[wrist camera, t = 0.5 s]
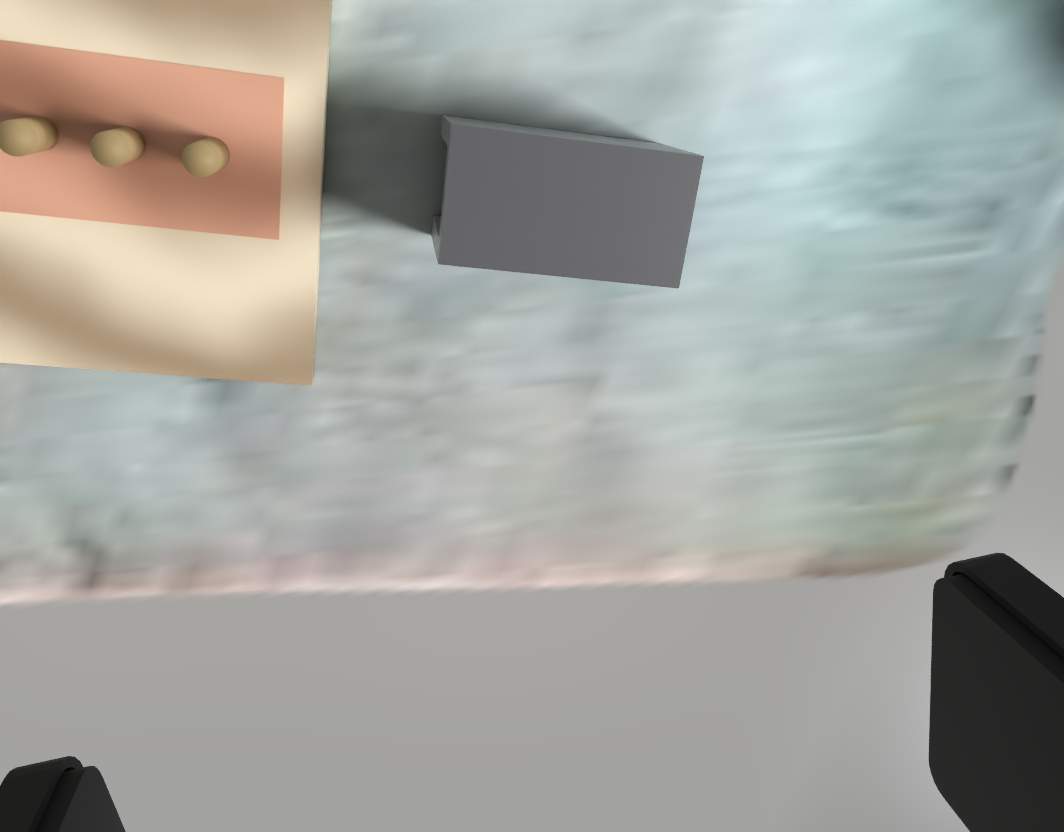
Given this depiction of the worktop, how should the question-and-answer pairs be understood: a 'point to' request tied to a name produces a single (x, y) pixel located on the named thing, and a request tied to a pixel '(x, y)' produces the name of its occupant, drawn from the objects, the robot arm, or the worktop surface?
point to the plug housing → (564, 203)
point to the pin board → (163, 185)
